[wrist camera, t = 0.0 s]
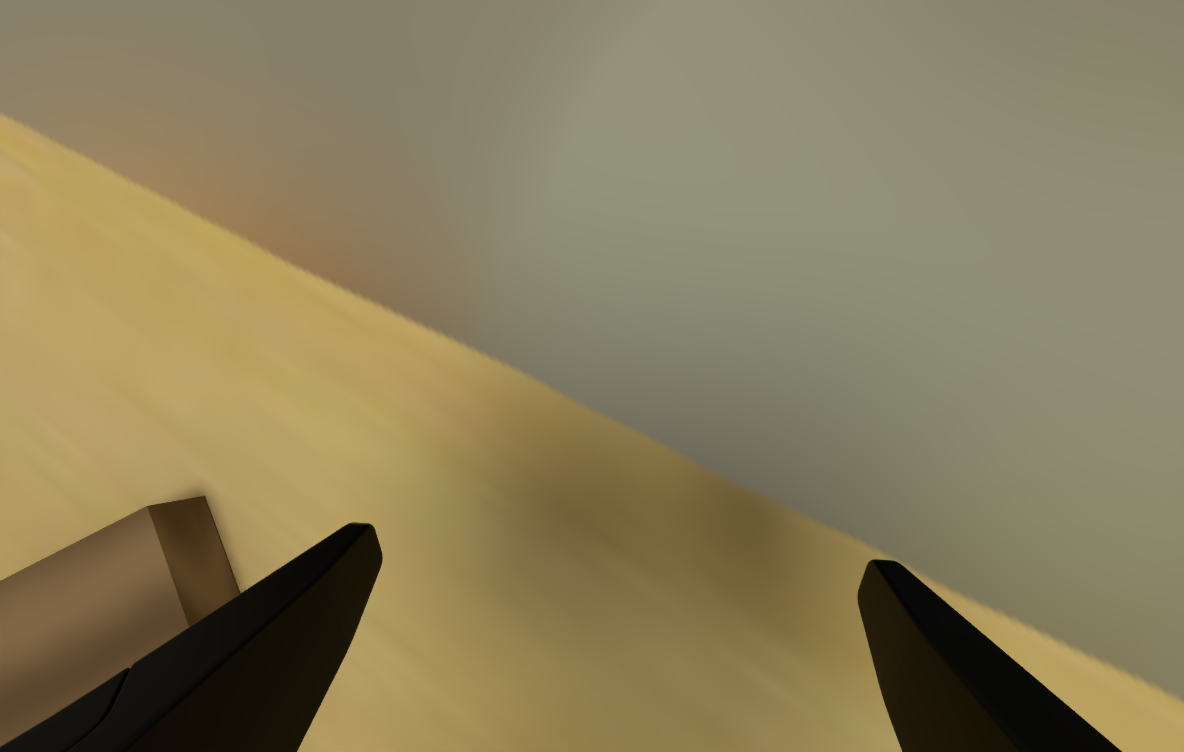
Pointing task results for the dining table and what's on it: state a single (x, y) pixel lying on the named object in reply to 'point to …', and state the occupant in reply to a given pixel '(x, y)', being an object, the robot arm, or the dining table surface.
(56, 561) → the base
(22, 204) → the dining table surface
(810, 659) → the dining table surface
